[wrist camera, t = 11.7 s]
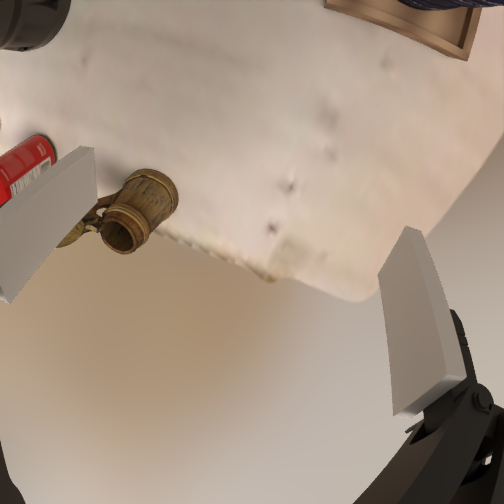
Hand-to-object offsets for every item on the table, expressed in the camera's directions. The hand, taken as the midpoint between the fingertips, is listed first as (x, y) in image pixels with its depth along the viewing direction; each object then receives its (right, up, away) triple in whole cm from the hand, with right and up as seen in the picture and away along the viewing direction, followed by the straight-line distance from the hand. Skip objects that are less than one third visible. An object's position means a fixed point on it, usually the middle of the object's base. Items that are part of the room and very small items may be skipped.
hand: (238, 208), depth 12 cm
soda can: (-37, +16, +33) cm, 52 cm away
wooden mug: (-17, +8, +35) cm, 40 cm away
